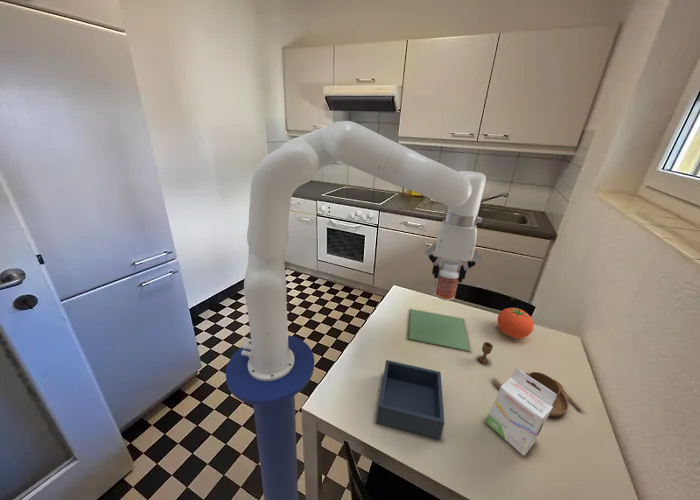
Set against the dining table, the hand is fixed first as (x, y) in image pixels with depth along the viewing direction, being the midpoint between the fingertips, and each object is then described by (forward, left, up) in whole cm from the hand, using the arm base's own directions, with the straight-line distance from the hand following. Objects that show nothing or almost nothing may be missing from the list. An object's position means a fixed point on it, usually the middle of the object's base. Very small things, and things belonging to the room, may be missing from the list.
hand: (447, 277), depth 81 cm
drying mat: (+1, +4, -21) cm, 22 cm away
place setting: (+23, -12, -21) cm, 34 cm away
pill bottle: (0, 0, -6) cm, 6 cm away
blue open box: (-7, -27, -21) cm, 35 cm away
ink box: (+15, -28, -21) cm, 39 cm away
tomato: (+25, +9, -21) cm, 34 cm away
